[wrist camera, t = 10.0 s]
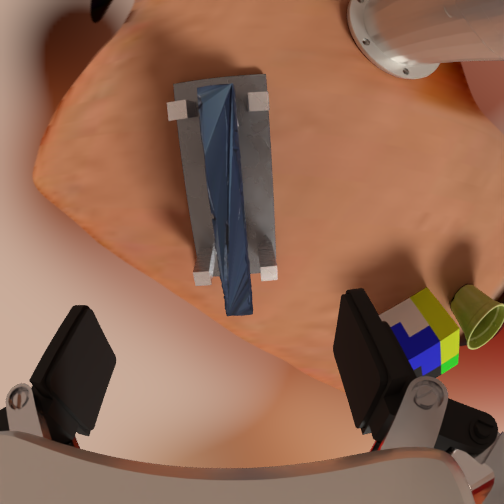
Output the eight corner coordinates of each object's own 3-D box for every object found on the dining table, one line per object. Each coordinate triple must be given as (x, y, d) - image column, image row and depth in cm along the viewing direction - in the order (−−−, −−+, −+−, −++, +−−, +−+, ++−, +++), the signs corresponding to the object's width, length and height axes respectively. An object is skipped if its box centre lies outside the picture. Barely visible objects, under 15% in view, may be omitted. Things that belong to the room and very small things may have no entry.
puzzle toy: (372, 318, 40) (397, 366, 31) (426, 286, 38) (459, 328, 29) (385, 351, 44) (405, 395, 35) (432, 324, 42) (457, 363, 33)
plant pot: (477, 265, 36) (506, 294, 29) (482, 296, 40) (507, 324, 32) (438, 298, 39) (464, 332, 31) (448, 326, 43) (469, 357, 35)
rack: (175, 84, 24) (159, 79, 19) (264, 75, 24) (271, 66, 19) (201, 272, 35) (195, 303, 29) (275, 267, 35) (281, 296, 29)
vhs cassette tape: (249, 259, 33) (253, 316, 24) (223, 260, 33) (218, 318, 24) (240, 91, 24) (240, 80, 15) (209, 94, 24) (193, 84, 15)
